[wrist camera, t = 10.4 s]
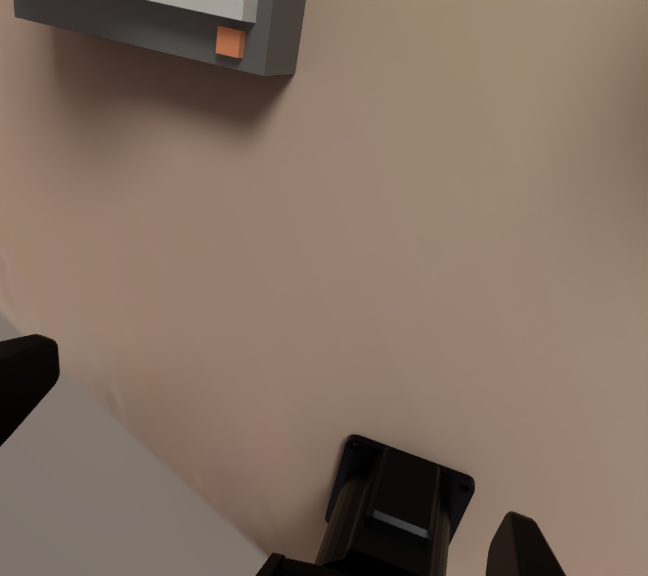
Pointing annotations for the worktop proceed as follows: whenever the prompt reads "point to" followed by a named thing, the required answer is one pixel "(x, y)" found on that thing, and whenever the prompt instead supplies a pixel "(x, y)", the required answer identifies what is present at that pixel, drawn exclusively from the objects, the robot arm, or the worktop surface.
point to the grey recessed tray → (187, 28)
